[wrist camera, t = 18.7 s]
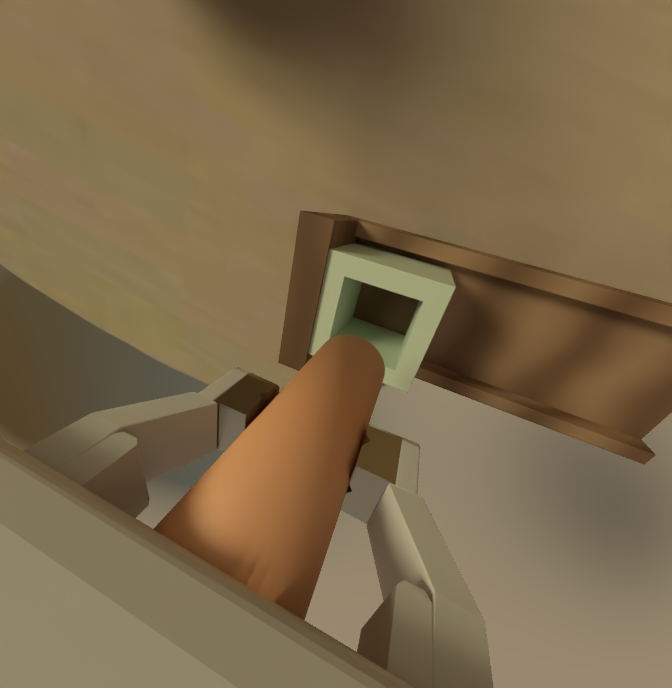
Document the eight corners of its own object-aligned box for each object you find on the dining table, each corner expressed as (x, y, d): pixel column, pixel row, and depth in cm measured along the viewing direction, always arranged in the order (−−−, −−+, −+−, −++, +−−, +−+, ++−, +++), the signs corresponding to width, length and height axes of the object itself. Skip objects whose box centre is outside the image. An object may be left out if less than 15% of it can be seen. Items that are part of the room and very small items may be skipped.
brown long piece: (730, 319, 16) (963, 394, 9) (614, 430, 21) (708, 538, 14) (346, 215, 21) (300, 210, 14) (322, 323, 26) (278, 362, 19)
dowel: (395, 349, 10) (200, 972, 2) (373, 406, 12) (205, 903, 3) (325, 324, 11) (-83, 700, 2) (312, 381, 12) (30, 745, 4)
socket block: (450, 269, 18) (455, 287, 13) (414, 352, 22) (407, 392, 17) (357, 242, 20) (329, 248, 15) (336, 324, 23) (308, 353, 18)
